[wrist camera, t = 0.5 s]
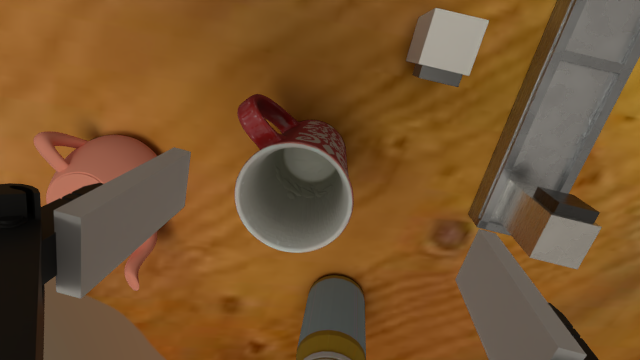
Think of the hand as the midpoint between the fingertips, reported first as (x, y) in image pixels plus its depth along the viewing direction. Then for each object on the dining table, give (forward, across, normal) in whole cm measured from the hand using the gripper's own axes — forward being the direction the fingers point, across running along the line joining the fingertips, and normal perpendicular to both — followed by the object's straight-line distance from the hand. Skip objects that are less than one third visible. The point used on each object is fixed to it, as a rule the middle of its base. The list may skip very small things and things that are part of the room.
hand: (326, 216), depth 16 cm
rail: (+23, +19, +6) cm, 31 cm away
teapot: (+24, -22, -14) cm, 35 cm away
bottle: (+23, +5, -22) cm, 32 cm away
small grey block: (+23, +6, +9) cm, 26 cm away
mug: (+23, -4, -3) cm, 24 cm away
